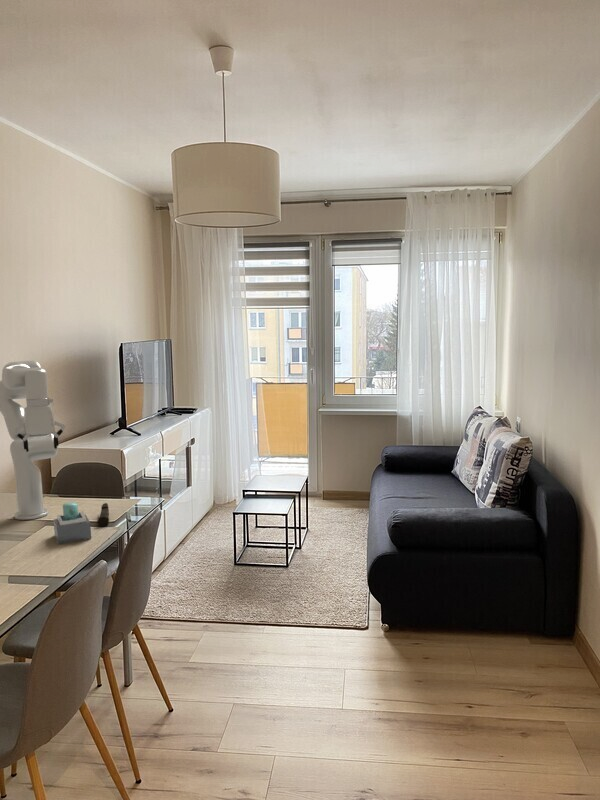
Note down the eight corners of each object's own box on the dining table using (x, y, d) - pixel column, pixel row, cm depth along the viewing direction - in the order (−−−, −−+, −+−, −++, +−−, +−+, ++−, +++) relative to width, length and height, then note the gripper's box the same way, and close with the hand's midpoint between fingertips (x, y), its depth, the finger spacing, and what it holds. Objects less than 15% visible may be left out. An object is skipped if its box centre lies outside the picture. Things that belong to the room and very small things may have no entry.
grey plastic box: (54, 535, 232) (53, 515, 231) (86, 530, 237) (85, 510, 236) (58, 544, 222) (56, 523, 222) (91, 538, 227) (89, 518, 226)
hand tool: (109, 526, 242) (108, 514, 241) (98, 527, 241) (97, 515, 240) (113, 512, 260) (112, 501, 260) (103, 513, 259) (102, 502, 259)
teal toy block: (63, 520, 230) (61, 503, 229) (77, 517, 232) (76, 501, 232) (65, 524, 224) (64, 508, 224) (80, 522, 227) (79, 505, 226)
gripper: (61, 400, 241) (65, 445, 243) (11, 404, 233) (15, 450, 235) (64, 402, 234) (67, 448, 236) (12, 406, 226) (16, 454, 228)
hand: (41, 449), depth 236 cm, fingers open, 9 cm apart
